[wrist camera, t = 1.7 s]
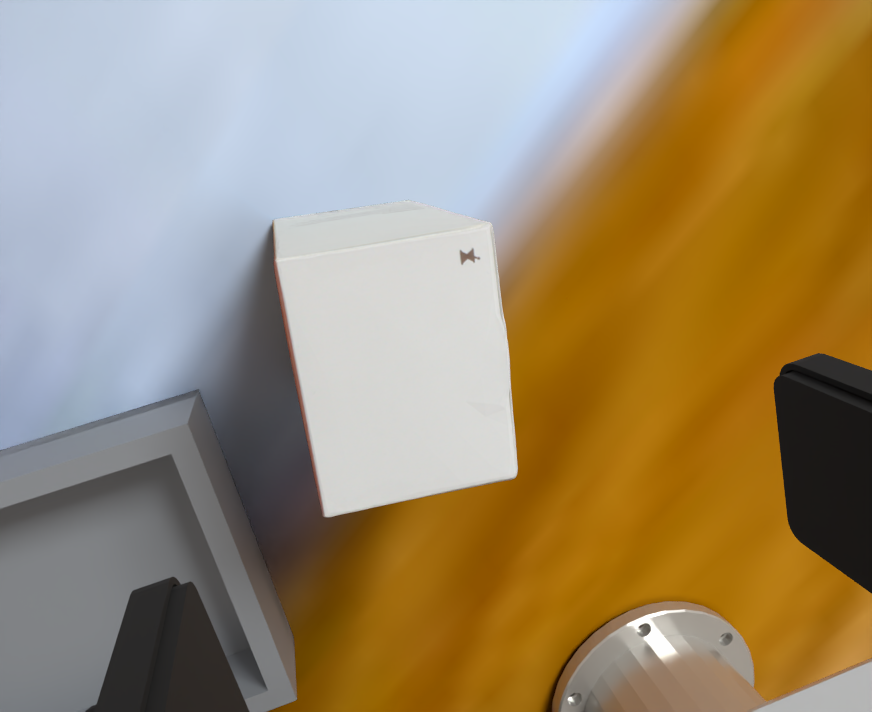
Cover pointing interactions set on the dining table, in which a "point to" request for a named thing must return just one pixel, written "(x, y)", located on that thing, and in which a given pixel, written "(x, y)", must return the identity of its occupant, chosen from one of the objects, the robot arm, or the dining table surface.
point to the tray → (128, 555)
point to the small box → (396, 351)
